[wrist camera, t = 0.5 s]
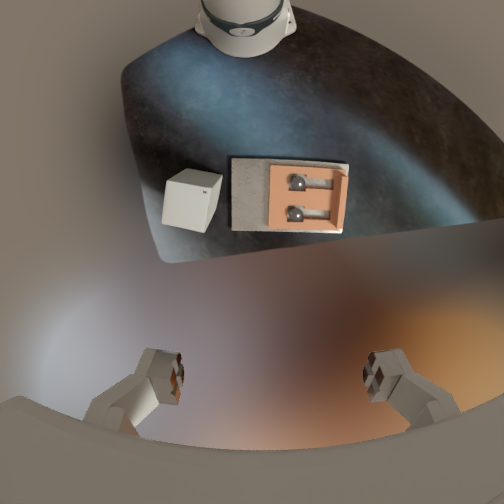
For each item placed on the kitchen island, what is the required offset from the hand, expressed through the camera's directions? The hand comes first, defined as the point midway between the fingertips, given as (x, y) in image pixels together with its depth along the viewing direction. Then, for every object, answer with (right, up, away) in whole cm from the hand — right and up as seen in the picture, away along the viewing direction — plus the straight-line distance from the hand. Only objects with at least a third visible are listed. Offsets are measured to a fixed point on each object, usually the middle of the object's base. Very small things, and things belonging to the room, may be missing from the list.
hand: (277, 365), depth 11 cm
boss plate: (+6, +16, +41) cm, 44 cm away
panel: (+9, +15, +40) cm, 44 cm away
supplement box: (-11, +17, +41) cm, 46 cm away
